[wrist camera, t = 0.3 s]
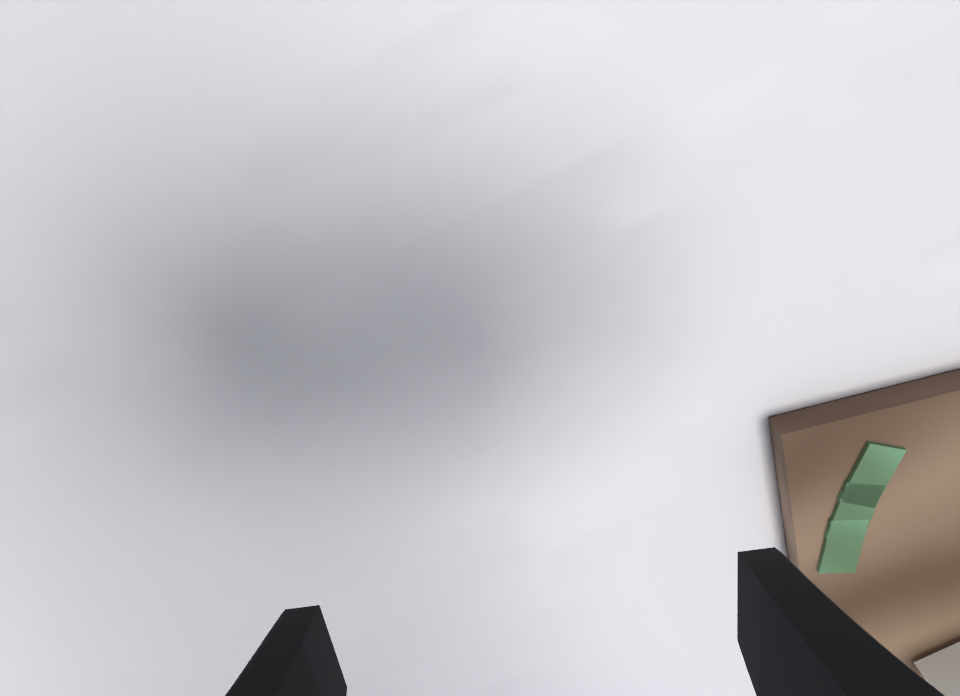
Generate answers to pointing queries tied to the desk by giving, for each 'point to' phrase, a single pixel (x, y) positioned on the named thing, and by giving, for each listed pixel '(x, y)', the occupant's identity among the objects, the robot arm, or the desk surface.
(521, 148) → the desk surface
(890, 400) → the dial board
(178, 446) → the desk surface
